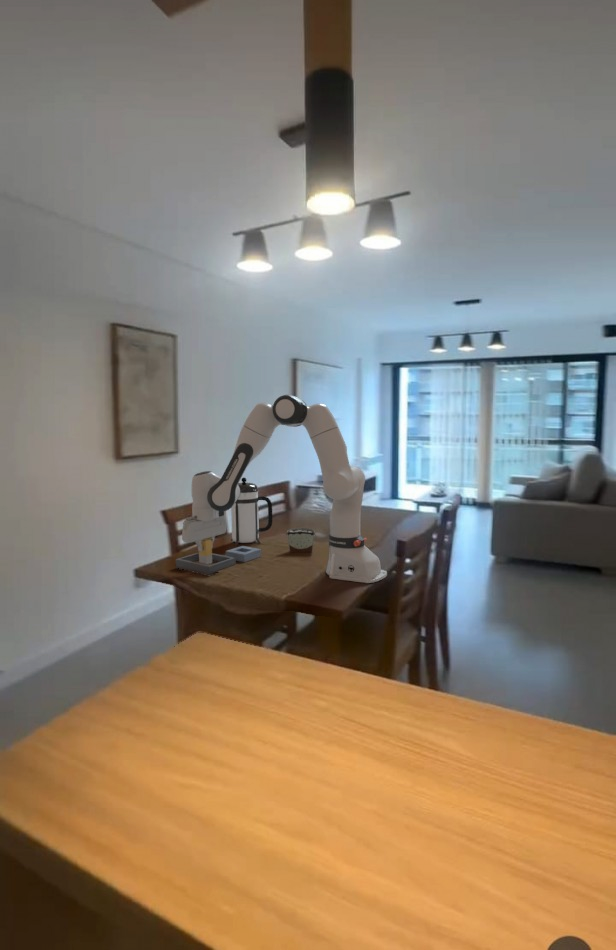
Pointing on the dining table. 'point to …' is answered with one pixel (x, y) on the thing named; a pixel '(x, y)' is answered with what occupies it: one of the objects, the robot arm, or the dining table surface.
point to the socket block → (244, 553)
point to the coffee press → (248, 514)
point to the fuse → (206, 552)
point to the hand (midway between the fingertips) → (205, 549)
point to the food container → (300, 539)
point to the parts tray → (189, 565)
